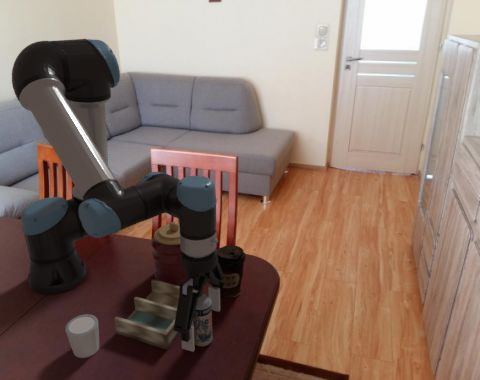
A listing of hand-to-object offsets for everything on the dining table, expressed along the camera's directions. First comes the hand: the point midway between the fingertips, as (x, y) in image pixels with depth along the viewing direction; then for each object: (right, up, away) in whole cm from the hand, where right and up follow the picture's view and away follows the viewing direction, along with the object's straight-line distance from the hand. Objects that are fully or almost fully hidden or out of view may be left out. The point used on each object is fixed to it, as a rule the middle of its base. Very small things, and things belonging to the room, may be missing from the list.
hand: (202, 328), depth 92 cm
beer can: (0, -4, +2) cm, 4 cm away
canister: (-10, +7, +25) cm, 27 cm away
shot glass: (-26, -4, -1) cm, 27 cm away
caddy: (-11, 0, +8) cm, 14 cm away
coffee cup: (+6, +4, +18) cm, 20 cm away
